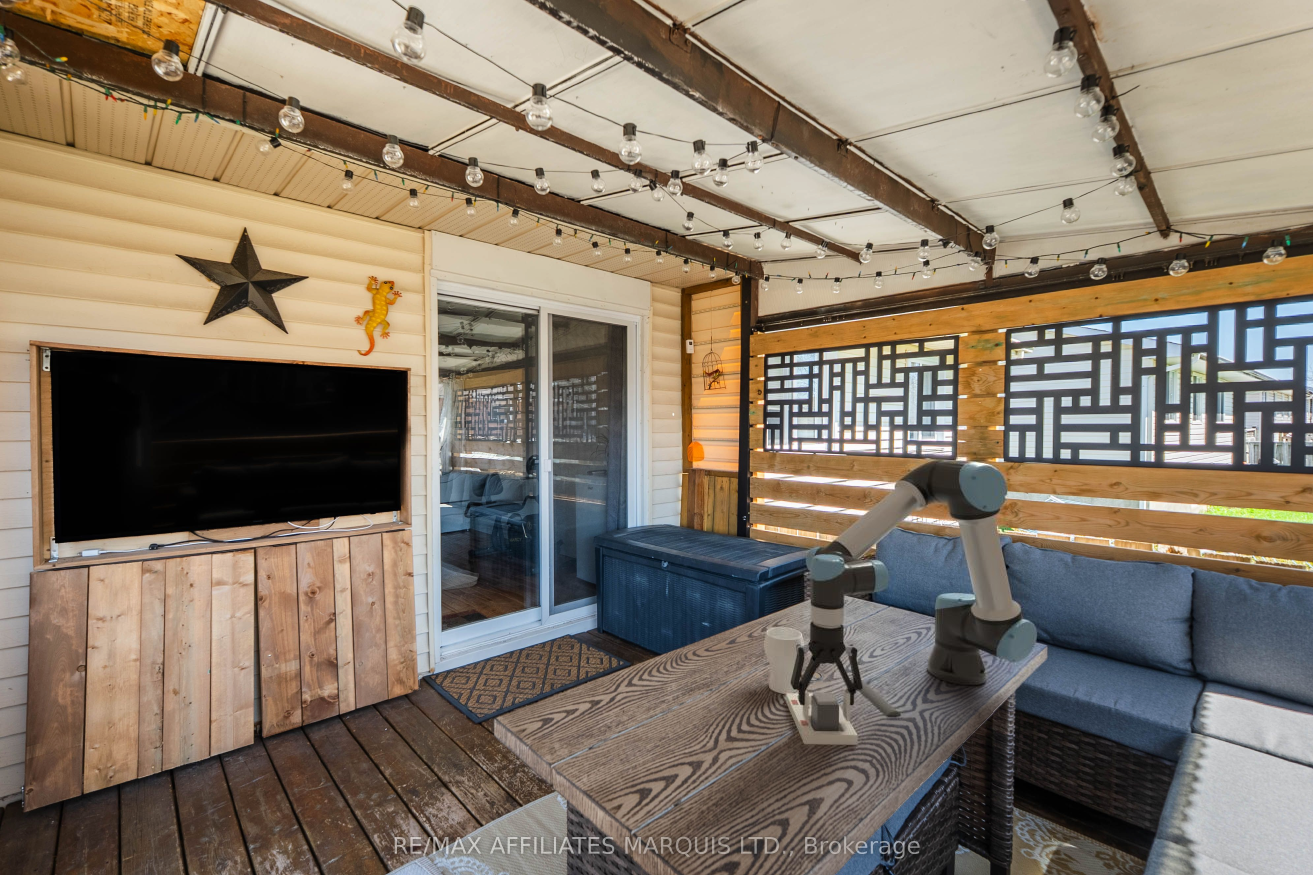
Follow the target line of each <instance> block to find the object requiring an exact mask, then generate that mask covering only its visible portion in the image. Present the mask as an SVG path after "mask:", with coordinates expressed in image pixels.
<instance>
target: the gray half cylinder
mask: <svg viewBox="0 0 1313 875" xmlns="http://www.w3.org/2000/svg"><path fill="white" fill-rule="evenodd" d="M850 681H851V683H853V682H854V680H853V677H852V678H851V679H850ZM861 682H862V686H863V688H862V690H857V691H858V692H859V693H860V694H862V695H863V696H864V697H865V698H866V699H867V700H868V701H869V702H870V703H871V704H872V705H874V706H875V707H876V708H877V709H878V710H879V711H880V712H881V713H883V715H885V716H886V717H891V716H901V713H900V712H899V711H898V710H897V709H896V708H895V707H894V706H893V705H891V704H890V703H889V702H888V701H887V700H885V699H884V697H882V696H881V695H880V694H879V693H878V692H876V691H875V690H874V689H873V688H871V687H870V686H869V685H868V683H866V682H865V681H864V680H863V679H861Z"/></svg>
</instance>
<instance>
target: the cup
mask: <svg viewBox="0 0 1313 875" xmlns="http://www.w3.org/2000/svg"><path fill="white" fill-rule="evenodd" d="M804 641H805V640H804V638H803V634H802V632H800V630H797V629H795V628H791V627H784V626H778V627H771V628H768V629H767V630H766V632H765V635H764V641H763V649H764V653H765V656H766V659H767V662H768V664H769V667H770V676H769V682H768V687H769V689H770V690H771V691H774V692H776V693H779V694H784V695H786V693H797V691H798V690H794V689H793V687H792V685H791V678H792V674H793V669H794V665H795V661H796V657H797V649H796V646H797V645H798V644H800V645H801V646H805V642H804Z"/></svg>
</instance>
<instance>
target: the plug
mask: <svg viewBox="0 0 1313 875" xmlns="http://www.w3.org/2000/svg"><path fill="white" fill-rule="evenodd" d="M812 693H813V695H811V726H812V728H813V730H814V731H839V706H840V704H839V701H838V700H837V698H836V697H835V696H834V694H833V693H832V692H812Z"/></svg>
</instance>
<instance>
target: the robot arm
mask: <svg viewBox="0 0 1313 875" xmlns="http://www.w3.org/2000/svg"><path fill="white" fill-rule="evenodd" d="M1007 495H1008V485H1007V481H1006V479H1005V476H1004V475H1003V474H1002V472H1001V471H1000V470H999V469H998V468H996V467H995V466H993V465H991V464H987V463H983V462H979V461H961V460H949V459H936V460H932V461H928V462H926V463H924V464H921V465H919V466H918V467H915V468H914V469H913V470H911V471H909V472H908V473H907V474H905V475H904V476H903V477H901V478H900V479H899V480H898V481H896V483H895V484H894V488H893V490H892V491H890V492H889V493H888V494H887V495H886V496H885V497H884V498H883V499H881V500H880V501H879V502H877V503H876V504H875V505H874V506H873V507H872V508H870V509H869V510H868V511H867V512H866V513H865V514H863V515H862V516H861V517H859V519H857V520H856V521H855V522H854V523H852V524H851V525H850V526H849V527H848V528H847V529H846V530H845V531H843V532H842V533H840V534H839V535H838V536H837V537H836V538H835V539H834V540H832V542H830V543H829V544H828V545H826V546H825V547H824V546H815V547H813V548H811V549H810V550H809V551H808V552H807V554H806V557H805V565H806V567H807V569H808V571H809V576H810V577H809V578H810V579H809V580H810V614H809V616H810V617H809V618H810V621H811V622H810V623H809V627H810V628H809V634H810V635H809V642H808V644H806V645H805V644H804V646H801V645H800V644H798V645H797V646H796V649H797V657H796V661H795V665H794V669H793V674H792V678H791V685H792V687H793V689H794V690H797V691H798V692H797V693H798V700H799V703H800V705H803V717H804V719H805V721H809V693H810V692H809V691H808V687H809V685H810V683H811V681H812V679H813V678H814V676H815V673H816V671H817V670H818V669H819V667H820V666H821V665H823V664H824V665H825V664H831V665H834V664H835V666H836V667H837V669H838V672H839V674H840V676H841V678H842V680H843V682H844V684H845V686H846V687H843V688H842V693H843V694H842V710H843V716H844V718H845V719H846V721H849V722H850V721H851V717H850V716H851V706H854V704H855V695H856V693H857V691H858V690H862V688H863V686H862V682H861V680H862V679H861V673H860V667H859V664H858V658H857V657H858V652H859V651H858V649H857V647H856V646H855V645H854V644H852V643H851V644H849V645H847V644H845V642H844V640H845V639H844V638H845V637H844V635H845V634H844V633H845V630H844V628H845V626H844V625H843V624H844V623H845V607H844V606H845V597H849V596H855V595H862V594H874V593H875V592H881V591H884V590H885V589H886V588H887V587H888V585H889V579H890V578H889V577H890V574H889V571H888V568H887V567H886V565H885V564H884V563H883V562H882V561H880V560H879V559H878V560H877V559H869V558H868V559H866V560H863V559H862V560H861V559H860V558H861V557H863V556H864V555H865V554H866V553H867V552H868V551H870V550H871V549H872V548H873V547H875V545H877V544H878V543H879V542H880V541H881V540H882V539H883V538H885V537H886V536H887V535H888V534H890V532H891V531H893V530H894V529H895V528H897V526H899V525H900V524H901V523H902V522H903V521H904V520H906V519H907V518H908V517H909V516H911V514H912V513H914V512H915V511H921V510H923V509H924V508H926V507H928V505H931V504H935V503H941V504H944V505H945V504H946V505H947V506H948V507H947V508H948V512H949V515H950V518H952V519H954V520H955V521H957V522H958V527H959V532H960V536H961V541H962V545H963V550H964V555H965V559H966V564H967V568H968V574H969V578H970V581H971V587H972V591H973V594H972V593H962V592H960V593H959V592H951V593H949V592H947V593H942V594H939V595H938V596H937V597H936V599H935V600H936V601H935V607H934V645H933V647H932V649H931V652H930V655H929V658H928V659H927V671H928V672H929V674H930V675H932V676H933V677H935V678H937V679H939V680H942V681H944V682H947V683H951V684H955V685H960V686H979V685H982V684H984V683H986V681H987V669H986V667H985V663H984V660H983V656H982V654H981V651H982V652H985V653H987V654H989V655H992V656H994V657H996V658H998V659H999V660H1005V661H1007V662H1009V663H1019V662H1022V661H1024V660H1025V659H1027V658H1028V657H1029V656H1030V654H1031V653H1032V652H1033V650H1034V648H1035V645H1036V642H1037V638H1038V637H1037V636H1038V631H1037V627H1036V625H1035V624H1034V623H1033V622H1031V621H1030V620H1028V619H1025V618H1024V617H1023V612H1022V608H1021V605H1020V604H1019V603H1018V602H1017V601H1015V600H1013V597H1012V591H1011V587H1010V583H1009V577H1008V574H1007V568H1006V563H1005V558H1004V554H1003V549H1002V544H1001V539H1000V535H999V530H998V525H997V520H996V517H997V516H998V515H999V514H1000V513H1001V508H1002V506H1004V504H1005V502H1006V500H1007V498H1006V496H1007ZM808 652H810V654H811V656H810V660H809V663H808V665H807V666H806V668H805V670H804V672H803V674H802V671H803V668H804V662H805V656H807V655H808ZM844 653H846V654H847V655H846V656H848V661H849V666H850V670H851V671H850V672H851V675H852V678H853V680H854V682H853V683H851V681H850V680H851V679H850V677H849V675H848V673H847V671H846V668H845V667H844V664H843V662H842V660H841V657H842V656H843V654H844Z"/></svg>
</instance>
